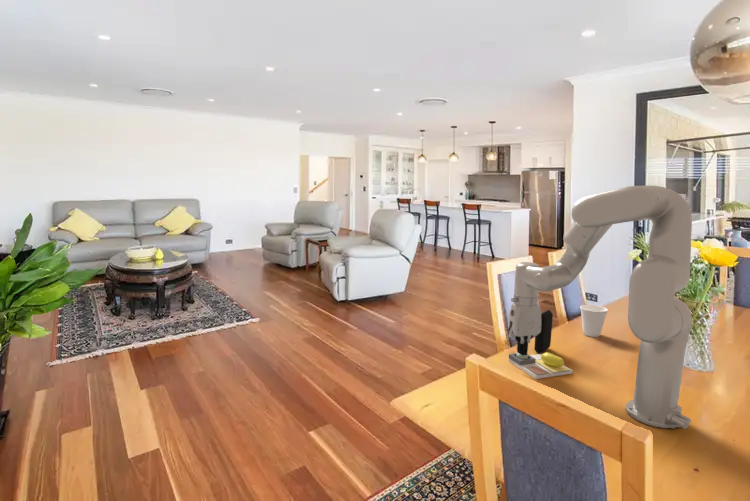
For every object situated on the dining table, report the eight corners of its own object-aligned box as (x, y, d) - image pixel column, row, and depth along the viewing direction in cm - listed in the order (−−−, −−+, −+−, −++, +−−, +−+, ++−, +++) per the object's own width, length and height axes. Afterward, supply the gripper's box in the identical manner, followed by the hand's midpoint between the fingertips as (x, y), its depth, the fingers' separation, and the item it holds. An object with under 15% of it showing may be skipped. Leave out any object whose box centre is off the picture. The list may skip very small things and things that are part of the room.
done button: (529, 360, 142) (530, 355, 142) (520, 362, 141) (521, 356, 141) (523, 356, 145) (523, 351, 145) (514, 357, 144) (514, 352, 144)
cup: (611, 337, 168) (614, 310, 166) (592, 340, 165) (595, 312, 163) (590, 329, 177) (592, 303, 176) (572, 332, 174) (574, 305, 172)
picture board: (572, 373, 136) (573, 365, 136) (535, 379, 132) (536, 371, 132) (543, 356, 149) (543, 349, 149) (508, 360, 145) (508, 353, 145)
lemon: (545, 359, 144) (546, 348, 143) (566, 368, 137) (567, 357, 136) (537, 361, 142) (538, 350, 141) (558, 371, 135) (558, 359, 134)
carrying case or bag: (539, 357, 148) (542, 316, 146) (531, 354, 150) (533, 314, 148) (551, 348, 156) (554, 309, 154) (543, 346, 158) (546, 308, 156)
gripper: (513, 305, 134) (509, 360, 137) (552, 301, 139) (548, 355, 142) (499, 298, 141) (496, 351, 144) (537, 295, 146) (533, 347, 149)
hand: (522, 353), depth 143 cm, fingers closed
